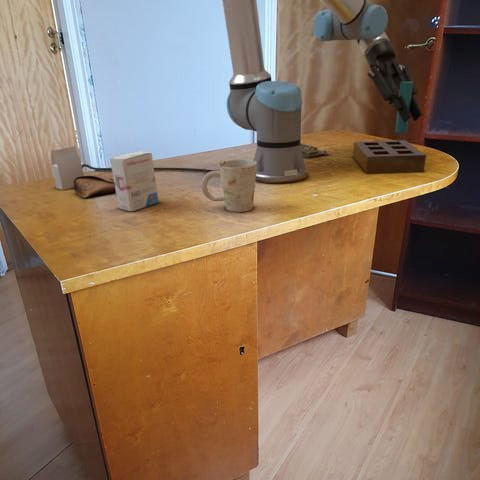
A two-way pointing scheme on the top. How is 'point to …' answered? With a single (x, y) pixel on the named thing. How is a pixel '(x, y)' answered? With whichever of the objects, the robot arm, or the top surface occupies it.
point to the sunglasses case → (94, 185)
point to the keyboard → (310, 151)
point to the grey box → (66, 167)
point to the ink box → (134, 180)
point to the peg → (406, 94)
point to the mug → (234, 184)
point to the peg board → (388, 156)
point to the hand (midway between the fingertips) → (413, 118)
